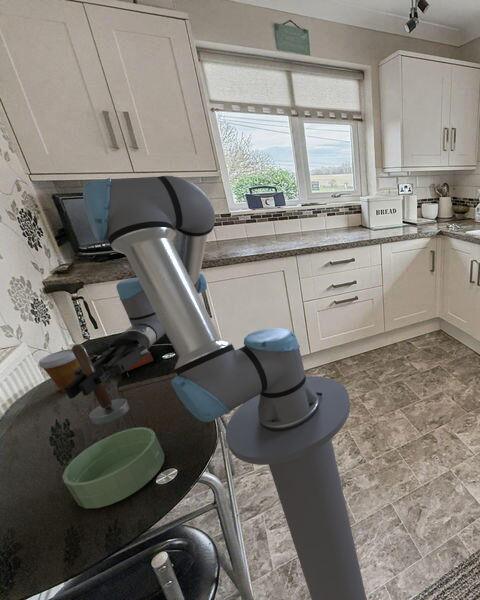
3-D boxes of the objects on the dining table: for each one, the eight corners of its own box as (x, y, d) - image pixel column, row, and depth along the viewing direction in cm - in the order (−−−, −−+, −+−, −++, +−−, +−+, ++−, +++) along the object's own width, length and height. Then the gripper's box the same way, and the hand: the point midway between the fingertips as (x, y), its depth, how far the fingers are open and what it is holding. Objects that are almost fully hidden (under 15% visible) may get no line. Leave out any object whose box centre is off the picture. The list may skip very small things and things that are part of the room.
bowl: (166, 440, 81) (155, 418, 79) (164, 482, 69) (152, 457, 67) (87, 472, 74) (73, 449, 72) (69, 526, 62) (52, 499, 59)
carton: (140, 350, 133) (136, 341, 131) (154, 360, 123) (150, 350, 122) (115, 360, 127) (111, 350, 125) (127, 371, 117) (123, 361, 116)
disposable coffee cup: (59, 397, 105) (41, 365, 101) (51, 390, 110) (33, 359, 106) (96, 381, 113) (81, 351, 108) (87, 375, 118) (72, 346, 113)
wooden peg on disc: (131, 401, 83) (99, 334, 76) (127, 415, 77) (93, 344, 70) (95, 413, 79) (59, 344, 73) (89, 429, 74) (49, 356, 67)
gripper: (167, 349, 94) (122, 398, 72) (108, 360, 91) (43, 414, 69) (158, 325, 91) (108, 369, 69) (97, 336, 88) (25, 384, 67)
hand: (76, 391), depth 69 cm, fingers closed on wooden peg on disc, 2 cm apart
